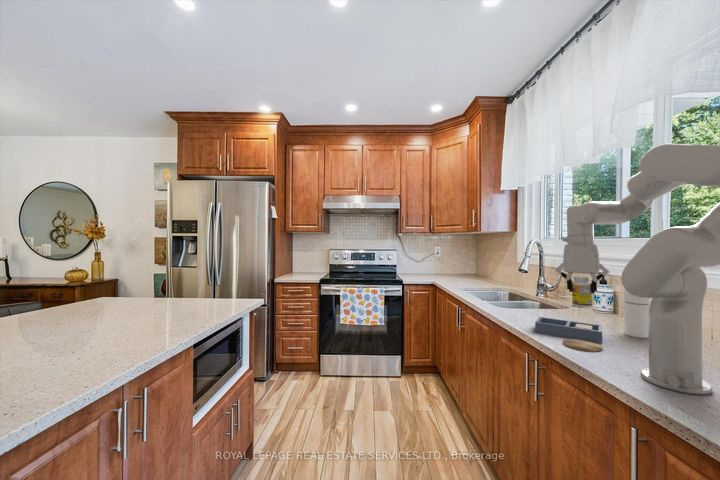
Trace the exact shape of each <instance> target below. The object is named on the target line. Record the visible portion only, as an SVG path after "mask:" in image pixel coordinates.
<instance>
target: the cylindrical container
mask: <svg viewBox="0 0 720 480" xmlns="http://www.w3.org/2000/svg"><path fill="white" fill-rule="evenodd" d="M623 288H624V287H623ZM623 295H624V296H623V297H624V298H623V300H624V301H623V305H624V308H623V313H624V314H623V315H624V317H623V318H624V323H623V324H624V334H625V335H626V336H629V337H634V338H641V339H642V338H643V339H644V338H645V339H649V333H648V312H649V306H650V298H642V297H638V296H635V295H632V294H630V293H629V292H628V291H627V290H626V289H625V288H624V289H623Z"/></svg>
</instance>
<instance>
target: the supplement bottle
mask: <svg viewBox="0 0 720 480" xmlns="http://www.w3.org/2000/svg"><path fill="white" fill-rule="evenodd" d="M573 278H574V279H573V280H574V281H572V292H571V295H572V296H571V297H572V298H571V299H572V301H571V302H572V303H571V304H572V305H573V306H575V307H578V308H592V307H593V294H592V290H591V282H589V277H588V276H579V275H577V276H574V277H573Z"/></svg>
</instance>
